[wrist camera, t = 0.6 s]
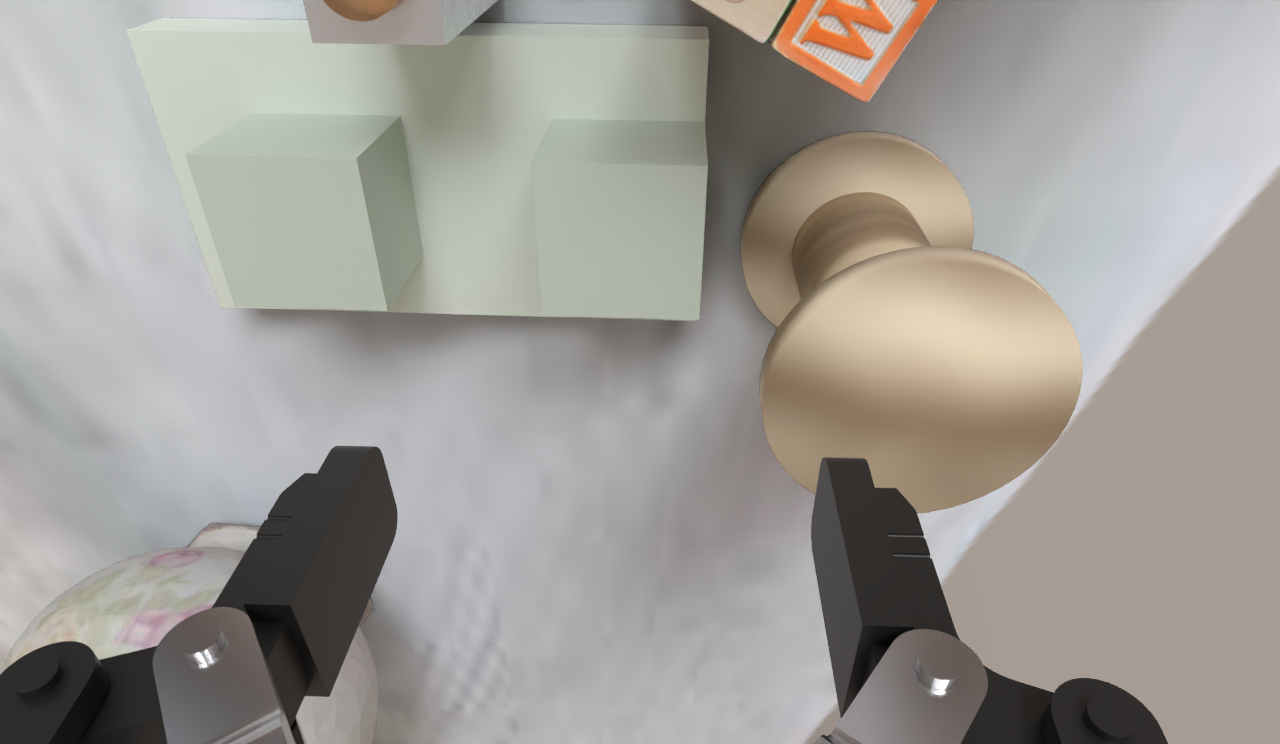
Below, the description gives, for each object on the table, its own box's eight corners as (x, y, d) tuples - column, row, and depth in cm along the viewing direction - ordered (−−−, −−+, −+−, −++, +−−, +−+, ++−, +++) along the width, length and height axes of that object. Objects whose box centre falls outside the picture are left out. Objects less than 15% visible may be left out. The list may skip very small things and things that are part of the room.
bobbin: (750, 128, 33) (778, 259, 23) (990, 133, 33) (1130, 268, 22) (732, 331, 39) (749, 509, 28) (938, 337, 38) (1030, 519, 28)
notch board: (162, 17, 32) (34, 61, 25) (707, 26, 31) (713, 72, 25) (245, 282, 38) (160, 367, 32) (694, 294, 38) (695, 384, 31)
